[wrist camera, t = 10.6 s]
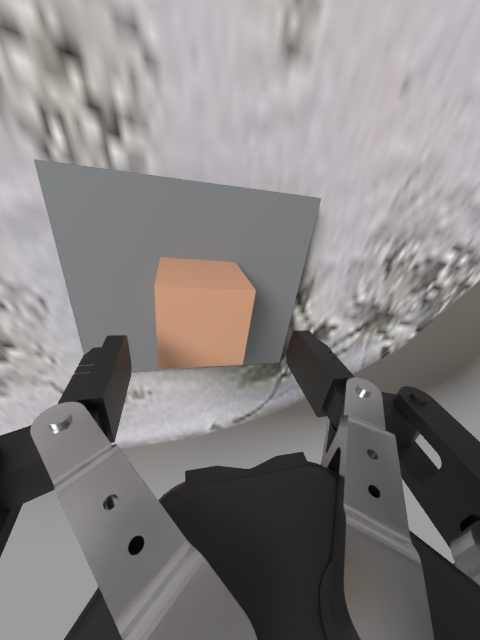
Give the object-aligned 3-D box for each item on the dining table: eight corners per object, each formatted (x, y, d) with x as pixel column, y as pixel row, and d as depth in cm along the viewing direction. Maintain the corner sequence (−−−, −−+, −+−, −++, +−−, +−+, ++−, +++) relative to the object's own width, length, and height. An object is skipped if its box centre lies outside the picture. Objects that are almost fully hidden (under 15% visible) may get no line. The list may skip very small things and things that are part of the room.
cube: (235, 262, 16) (255, 290, 12) (227, 323, 19) (242, 364, 15) (160, 257, 15) (154, 286, 11) (162, 324, 18) (158, 368, 13)
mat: (310, 196, 17) (321, 198, 16) (273, 353, 24) (279, 362, 22) (47, 161, 13) (33, 159, 12) (94, 362, 20) (89, 375, 18)
